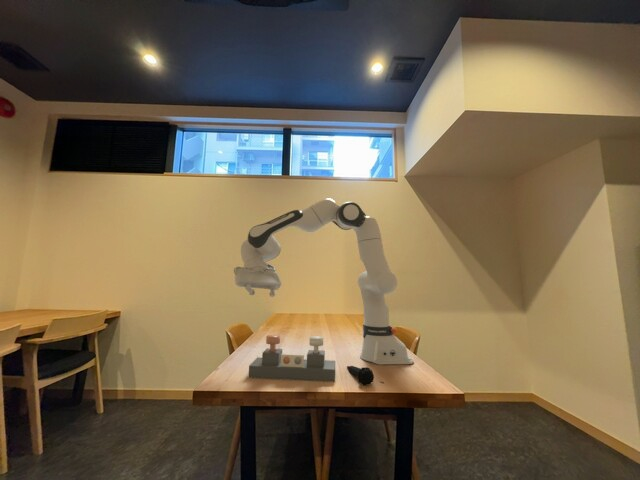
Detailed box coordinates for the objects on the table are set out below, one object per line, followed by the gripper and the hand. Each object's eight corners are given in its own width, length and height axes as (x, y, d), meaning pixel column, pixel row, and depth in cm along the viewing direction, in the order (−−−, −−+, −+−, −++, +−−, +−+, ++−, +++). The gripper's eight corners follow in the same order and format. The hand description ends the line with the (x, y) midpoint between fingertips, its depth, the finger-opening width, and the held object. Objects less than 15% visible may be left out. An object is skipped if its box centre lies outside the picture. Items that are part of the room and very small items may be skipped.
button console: (335, 371, 103) (335, 349, 104) (334, 381, 94) (335, 357, 95) (256, 368, 105) (257, 346, 106) (248, 377, 96) (249, 353, 97)
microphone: (343, 377, 107) (364, 390, 88) (339, 362, 108) (358, 372, 89) (356, 371, 109) (379, 383, 90) (351, 356, 110) (373, 366, 91)
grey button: (323, 353, 102) (323, 336, 103) (322, 357, 97) (322, 339, 98) (309, 352, 103) (310, 335, 103) (308, 356, 98) (308, 338, 98)
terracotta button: (280, 351, 103) (281, 334, 104) (277, 355, 98) (278, 337, 99) (267, 351, 104) (268, 334, 104) (264, 354, 99) (264, 337, 99)
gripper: (236, 261, 113) (242, 288, 104) (278, 267, 126) (287, 292, 117) (229, 271, 116) (235, 298, 107) (271, 276, 129) (279, 301, 120)
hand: (262, 295), depth 112 cm, fingers open, 8 cm apart
